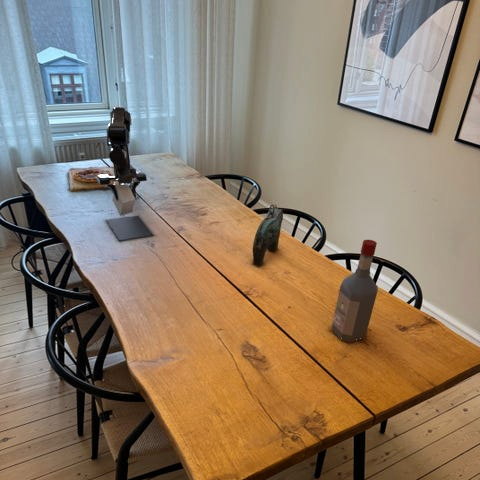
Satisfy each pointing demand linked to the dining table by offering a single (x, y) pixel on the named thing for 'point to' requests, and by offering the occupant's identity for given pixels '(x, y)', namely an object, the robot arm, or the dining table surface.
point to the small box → (124, 199)
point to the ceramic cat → (267, 235)
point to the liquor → (356, 299)
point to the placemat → (129, 228)
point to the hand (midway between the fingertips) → (124, 199)
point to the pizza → (89, 178)
